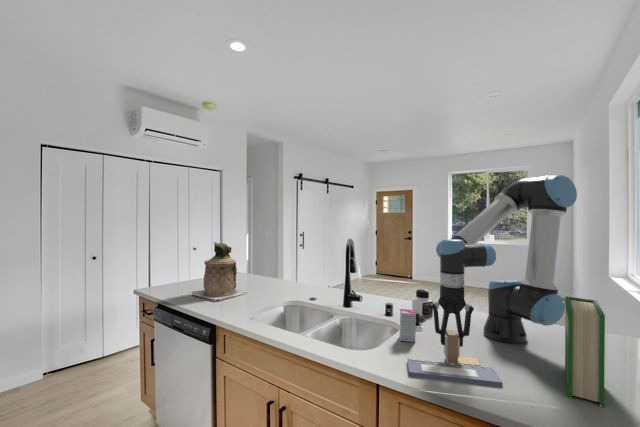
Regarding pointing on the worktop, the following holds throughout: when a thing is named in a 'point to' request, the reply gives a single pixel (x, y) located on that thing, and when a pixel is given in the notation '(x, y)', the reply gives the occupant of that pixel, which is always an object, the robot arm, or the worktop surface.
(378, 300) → the worktop surface
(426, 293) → the medicine bottle
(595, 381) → the hardback book
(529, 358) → the worktop surface
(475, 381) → the blue-grey flat rectangular block
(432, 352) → the worktop surface
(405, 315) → the supplement box
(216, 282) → the cookie jar
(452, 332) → the wooden l-shaped block
